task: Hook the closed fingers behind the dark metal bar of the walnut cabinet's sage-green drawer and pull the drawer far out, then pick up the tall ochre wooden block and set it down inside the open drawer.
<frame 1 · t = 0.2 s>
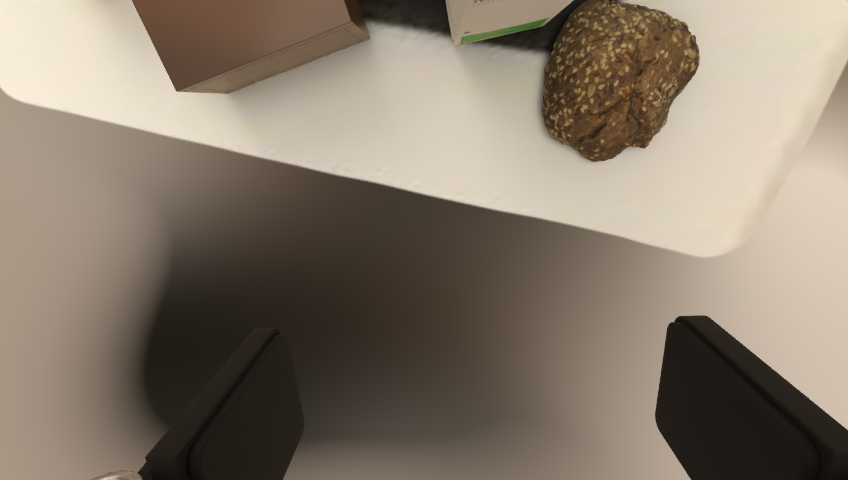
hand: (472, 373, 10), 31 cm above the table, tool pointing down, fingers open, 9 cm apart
bread roll: (607, 87, 37), on the table
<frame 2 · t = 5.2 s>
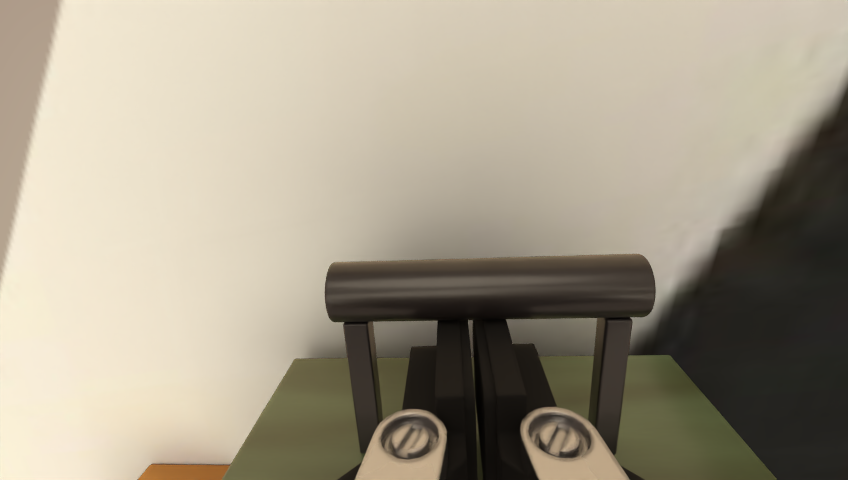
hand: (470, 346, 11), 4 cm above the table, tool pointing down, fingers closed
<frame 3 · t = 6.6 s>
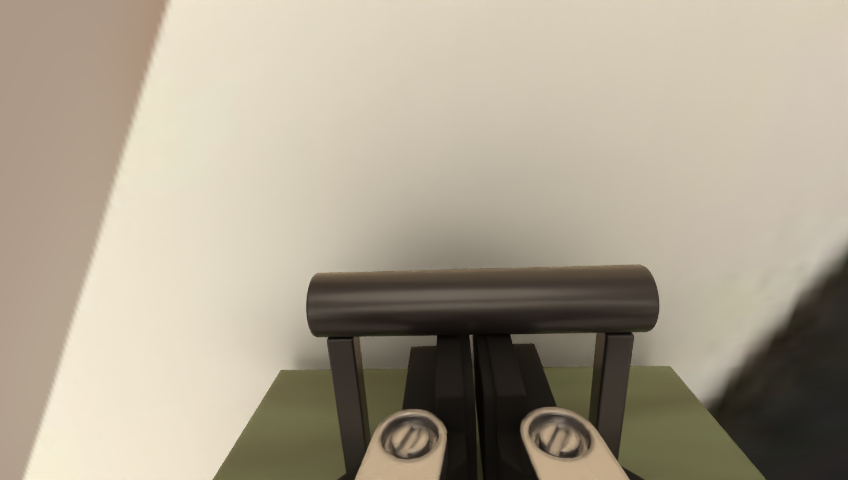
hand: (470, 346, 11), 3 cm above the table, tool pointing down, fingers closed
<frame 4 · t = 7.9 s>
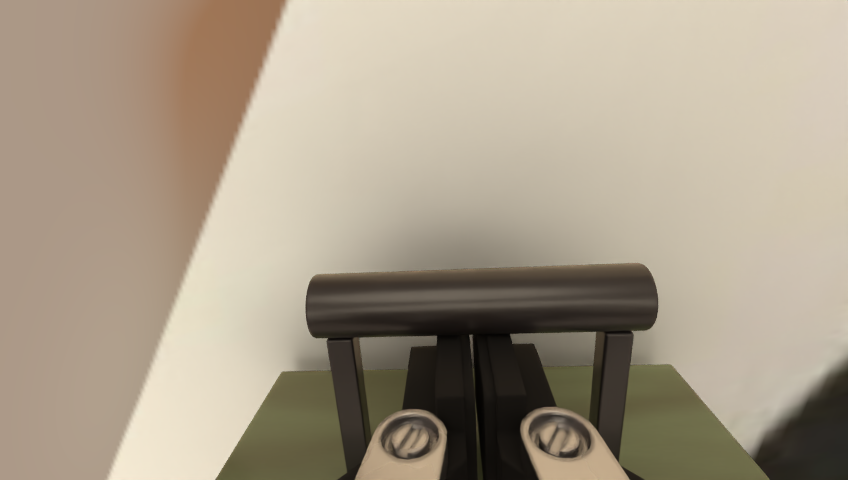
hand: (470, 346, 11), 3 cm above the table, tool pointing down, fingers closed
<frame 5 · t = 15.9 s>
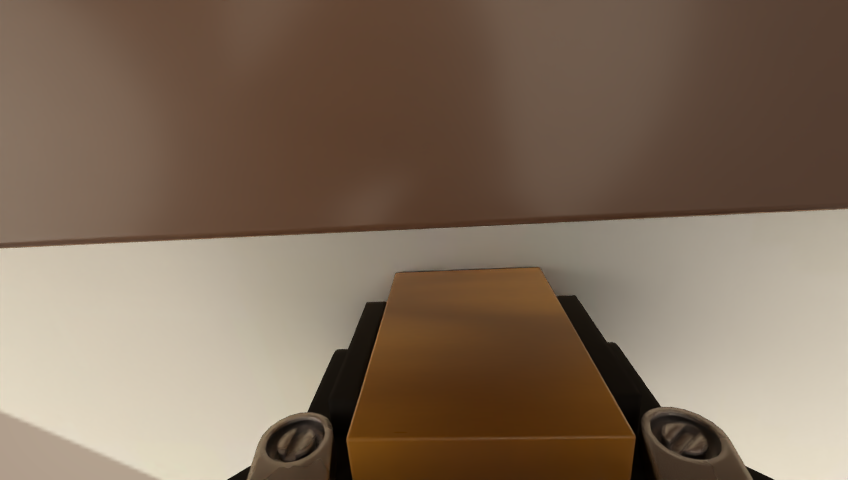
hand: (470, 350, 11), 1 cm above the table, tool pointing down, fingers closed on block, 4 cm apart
block: (468, 332, 12), on the table, touching gripper
when the fingers open (3 cm above the table, at t = 22.5 s): block stays where it is, resting on drawer.
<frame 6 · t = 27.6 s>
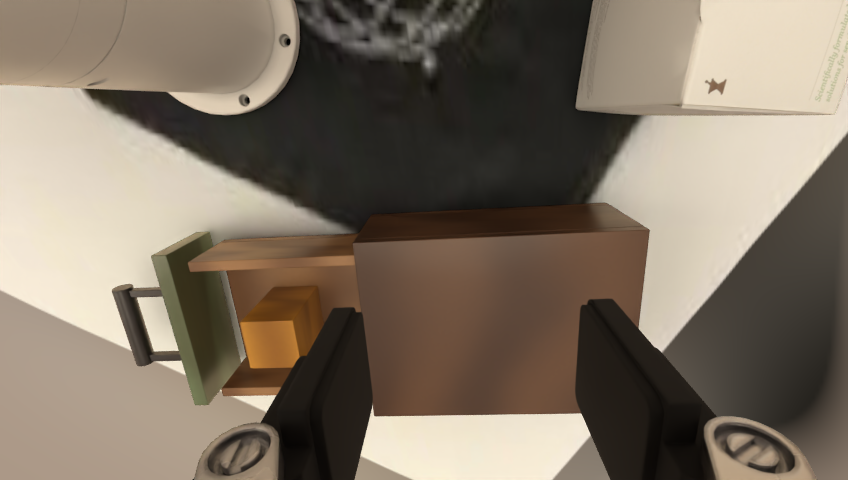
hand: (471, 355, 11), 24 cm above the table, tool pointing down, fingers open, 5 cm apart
block: (298, 306, 36), point 2 cm above the table, touching drawer
drawer: (270, 314, 34), point 4 cm above the table, slide at 14.1 cm, touching block
cosmetic box: (621, 54, 30), on the table
cabinet: (487, 287, 36), on the table
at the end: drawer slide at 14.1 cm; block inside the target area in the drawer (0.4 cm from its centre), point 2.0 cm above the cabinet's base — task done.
